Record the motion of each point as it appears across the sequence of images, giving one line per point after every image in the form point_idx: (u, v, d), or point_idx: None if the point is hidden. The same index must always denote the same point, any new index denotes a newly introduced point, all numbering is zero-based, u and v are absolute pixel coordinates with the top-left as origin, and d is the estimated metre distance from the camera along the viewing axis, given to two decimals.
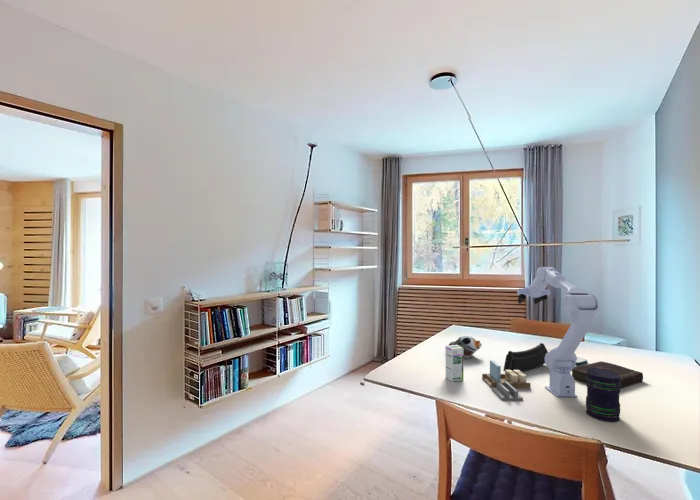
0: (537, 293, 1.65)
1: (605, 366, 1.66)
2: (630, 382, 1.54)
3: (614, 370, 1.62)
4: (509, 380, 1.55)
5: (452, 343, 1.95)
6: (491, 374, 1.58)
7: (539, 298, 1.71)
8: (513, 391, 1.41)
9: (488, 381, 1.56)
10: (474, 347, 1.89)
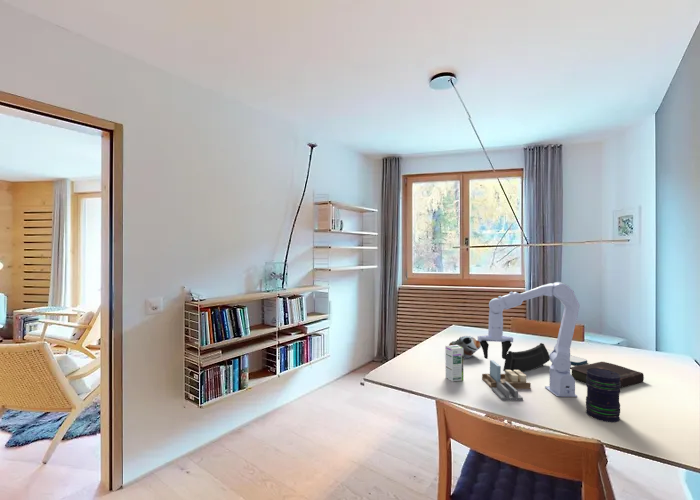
0: (497, 332, 1.53)
1: (606, 367, 1.66)
2: (630, 382, 1.54)
3: (614, 370, 1.62)
4: (509, 380, 1.55)
5: (452, 343, 1.95)
6: (491, 374, 1.58)
7: (504, 348, 1.55)
8: (513, 391, 1.41)
9: (488, 381, 1.56)
10: (475, 347, 1.89)
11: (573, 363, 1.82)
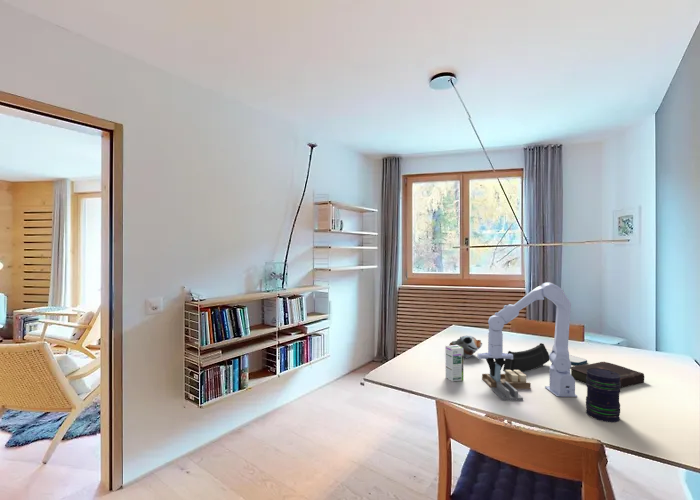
0: (496, 350, 1.53)
1: (606, 367, 1.66)
2: (629, 382, 1.54)
3: (614, 370, 1.62)
4: (509, 380, 1.55)
5: (453, 343, 1.96)
6: None
7: None
8: (513, 391, 1.41)
9: (488, 381, 1.56)
10: (475, 346, 1.90)
11: (573, 363, 1.82)
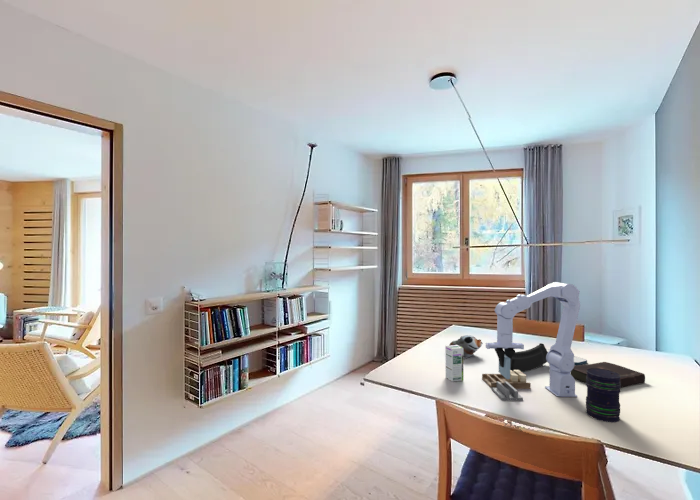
0: (506, 339, 1.44)
1: (607, 367, 1.66)
2: (629, 382, 1.54)
3: (615, 370, 1.62)
4: (509, 380, 1.55)
5: (453, 342, 1.96)
6: (500, 367, 1.49)
7: (507, 355, 1.45)
8: (513, 391, 1.41)
9: (488, 381, 1.56)
10: (476, 346, 1.91)
11: None
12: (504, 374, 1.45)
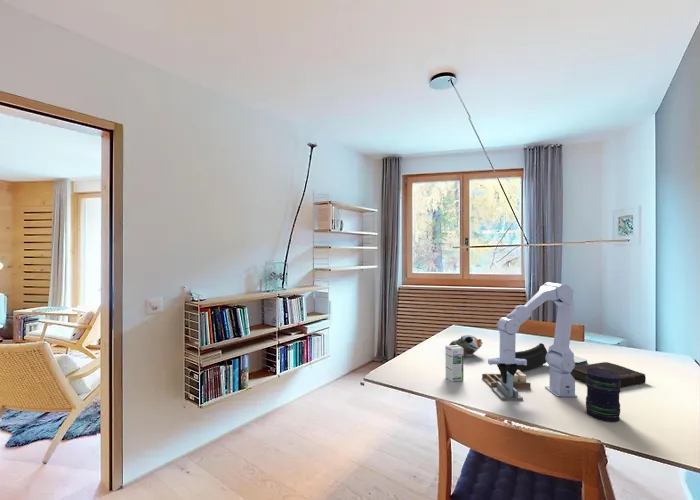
0: (509, 355, 1.41)
1: (607, 367, 1.66)
2: (629, 383, 1.54)
3: (615, 370, 1.61)
4: None
5: (454, 342, 1.97)
6: (502, 384, 1.46)
7: (510, 371, 1.43)
8: (513, 391, 1.41)
9: (488, 381, 1.56)
10: (476, 346, 1.91)
11: None
12: None
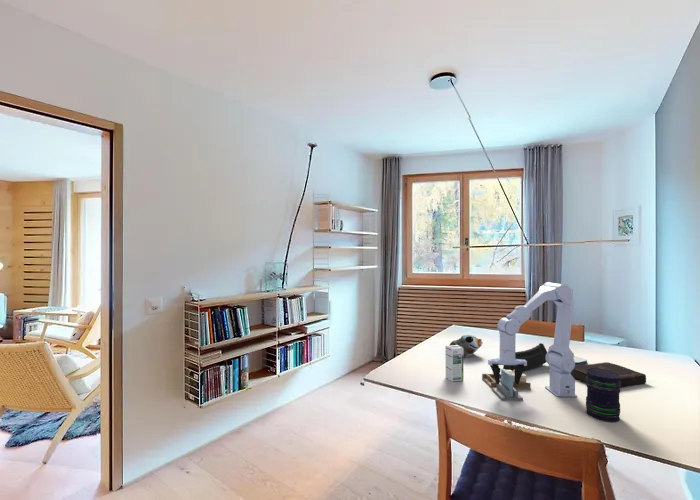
0: (509, 356, 1.41)
1: (608, 367, 1.66)
2: (628, 383, 1.54)
3: (615, 370, 1.61)
4: None
5: (454, 342, 1.97)
6: (502, 384, 1.46)
7: (517, 372, 1.43)
8: (513, 391, 1.41)
9: (488, 381, 1.56)
10: (476, 345, 1.92)
11: None
12: None
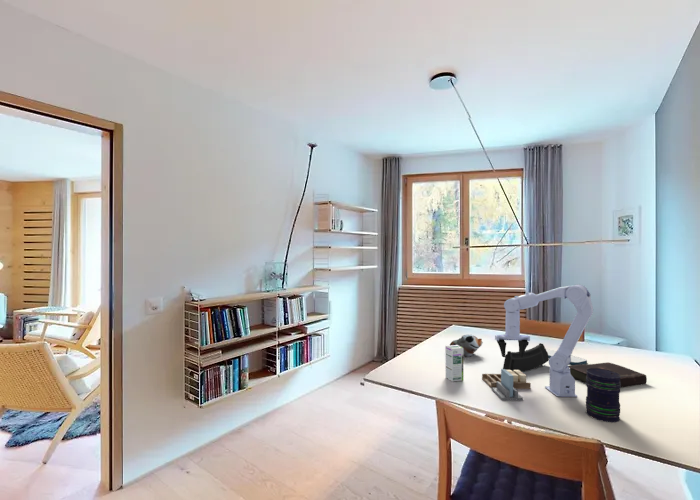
0: (514, 331, 1.57)
1: (608, 367, 1.66)
2: (628, 383, 1.53)
3: (615, 371, 1.61)
4: None
5: (454, 342, 1.98)
6: (502, 384, 1.46)
7: (521, 346, 1.59)
8: (513, 391, 1.41)
9: (488, 381, 1.56)
10: (477, 345, 1.93)
11: (572, 363, 1.82)
12: None
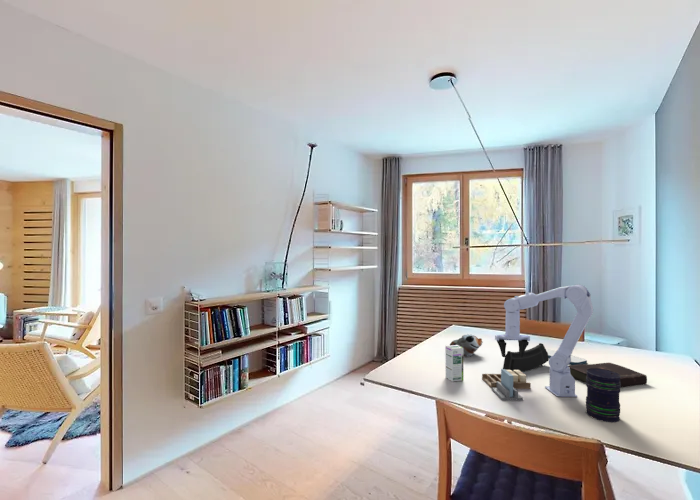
0: (514, 331, 1.57)
1: (609, 367, 1.66)
2: (628, 383, 1.53)
3: (615, 371, 1.61)
4: None
5: (455, 342, 1.98)
6: (502, 384, 1.46)
7: (521, 346, 1.59)
8: (513, 391, 1.41)
9: (488, 381, 1.56)
10: (477, 345, 1.93)
11: (572, 363, 1.82)
12: None
